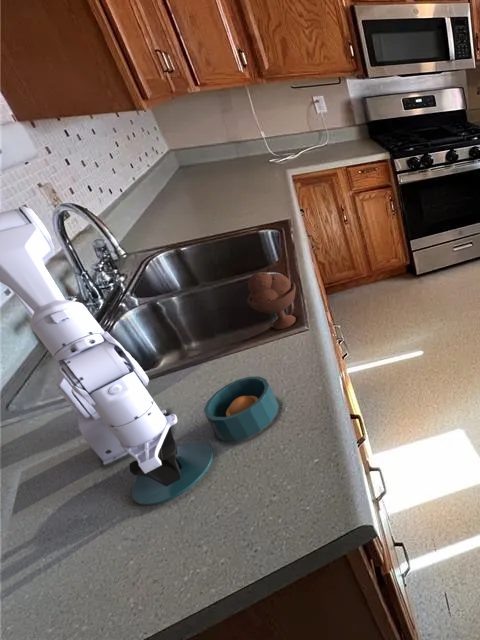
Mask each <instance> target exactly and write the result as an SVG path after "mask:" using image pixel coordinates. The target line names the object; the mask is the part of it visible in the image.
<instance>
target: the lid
mask: <svg viewBox="0 0 480 640" xmlns="http://www.w3.org/2000/svg"><path fill="white" fill-rule="evenodd" d="M176 448H177V455H176V462H177V464H178V466H179V469H180V473H181V479H180V480H178V481H176V482H174V483H172V484H171V485H169V486H164V485H162V484H161V483H159V482H157V481H155V480H153V479H151V478H149V477H145V476H137V477H136V478H135V481H134V483H133V485H132V487H131V497H132V499H133V501H134V502H135V503H136V504H138V505H140V506H156V505H160V504H163V503H167V502H169V501H171V500H174V499H175V498H176V497H179V496H180V495H182V494H184V493H185V492H186V491H188V490H189V489H191V488H192V487H193V486H195V484H196V483H198V482H199V481H200V480H201V479H202V478H203V476H204V475H205V474H206V473H207V471H208V470H209V469H210V467H211V465H212V462H213V459H214V450H213V448H212V447H211V445H209V443H207V442H205V441H190V442H185V443H183V444H179V445H176Z"/></svg>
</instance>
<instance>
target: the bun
mask: <svg viewBox="0 0 480 640" xmlns="http://www.w3.org/2000/svg"><path fill="white" fill-rule="evenodd" d="M257 400H258V398H257V397H255V396H241V397H238V398H236V399H235V400H234V401H233V402H232V403H231V405H230V406H229V408H228V409H227V411H226V416H231V415H234V414H237V413H239V412H241V411H243V410H245V409H247V408H249V407H250V406H251V405H252V404H254V403H255V402H256V401H257Z"/></svg>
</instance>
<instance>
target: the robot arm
mask: <svg viewBox="0 0 480 640" xmlns="http://www.w3.org/2000/svg"><path fill="white" fill-rule="evenodd" d="M52 240H53V238H52V236H51V234H50V232H49V230H48V229H47V227H46V225H44V223H43V221H42V220H41V219H40V218H39V216H38V215H37V214H36V213H35V212H34V210H33V209H32V208H30V207H26V206H24V205H20V206H18V208H14V209H10V210H5V211H1V212H0V283H1V284H3V285H5V286H6V287H8V288H9V289H10V290H11V291H12V292H13V294H14V296H16V297H17V299H18V300H19V301H20V303H21V304H22V306H23V307H25V309H26V311H27V312H28V313H29V314H30V316H31V318H30V320H29V327H30V329H31V330H32V331H33V332H34V333H35V335H36V336H37V337H38V339H39V340H40V341H41V343H42V344H43V345H44V347H45V348H46V349H47V350H48V352H49V353H50V354H51V355H52V357H53V358H54V359H55V360H56V362H57V363H58V365H57V366H56V367H57V370H58V373H60V374H59V375H58V376H57V378H56V381H55V382H56V384H55V386H56V388H57V389H58V391H59V392H60V395H61V396H62V397H63V398H64V400H65V401H66V402H67V404H68V405H69V406H70V408H71V409H72V410H73V411H74V412H75V414H76V415H77V416H78V417H77V425H78V430H79V432H80V434H81V436H82V437H83V439H84V440H85V442H86V443H87V444H88V445H89V447H90V448H91V450H92V451H94V452H95V454H96V455H97V456H98V457H99V458H100V459H101V461H102V464H103V466H105V465H108V464H110V463H112V462H114V461H115V460H118V459H120V458H122V457H123V456H126V455H129V456H130V457H132V458H133V459H134V460H133V461H131V462H130V463H129V472H130V473H131V474H132V475H133V476H135V477H136V476H137V477H138V476H145V477H149V478H151V479H153V480H155V481H157V482H159V483H161V484H162V485H164V486H169V485H171V484H172V483H174V482H176V481H178V480H180V479H181V473H180V469H179V466H178V464H177V462H176V455H177V448H176V447H177V445H176V442H175V441H176V440H175V438H174V436H173V432H172V426H174V425H176V424H177V423H178V416H177V415H176V414H175V413H172V414H171V413H170V412H167V409H162V410H161V409H160V408H159V406H158V404H157V403H156V402H155V400H154V399H153V397H152V396H151V394H150V393H149V391H148V390H147V388H146V387H147V386H148V385H149V382H150V379H149V377H148V375H147V373H146V372H145V371H144V369H143V367H141V366H140V364H139V362H138V361H137V360H135V358H134V357H132V355H131V354H130V352H129V351H127V350H126V349H125V348H124V347H123V345H122V344H121V343H120V342H119V341H118V340H116V339H115V337H113V336H112V335H111V334H110V333H109V332H108V331H107V330H106V331H105V330H104V329H103V328H102V326H101V325H100V323H99V322H98V321H97V320H96V318H95V317H94V316H93V315H92V313H91V312H90V311H89V310H88V308H87V307H86V305H84V303H82V302H79V301H75V300H70V299H66V298H65V297H64V295H63V293H62V292H61V290H60V289H59V287H58V286H57V284H56V282H55V280H54V278H53V277H52V275H51V273H50V272H49V271H48V269H47V267H46V266H45V263H46V262H47V261H48V260H50V259H51V258H52V257H54V256H55V255H56V252H55V245H54V243H53V241H52Z"/></svg>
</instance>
